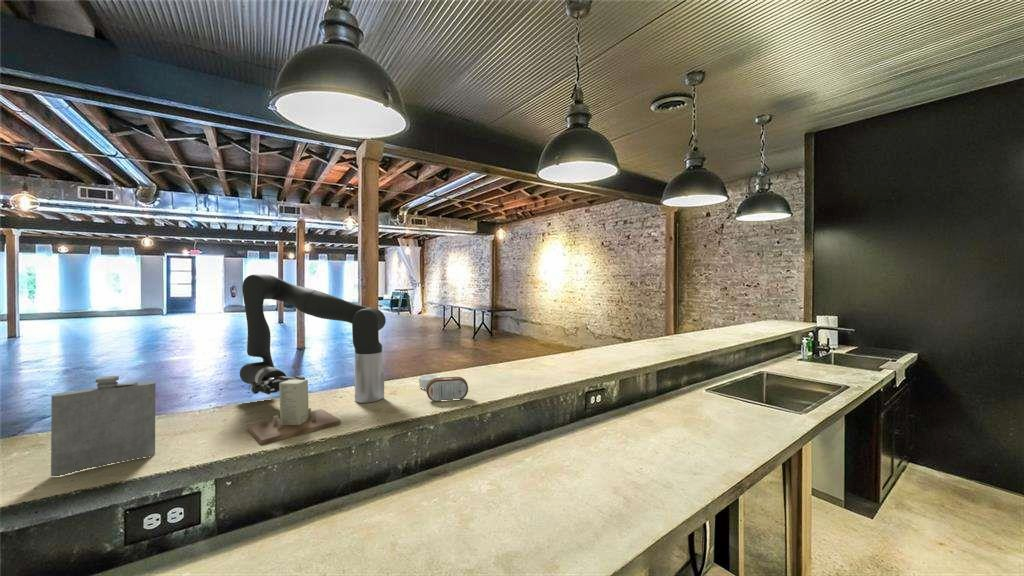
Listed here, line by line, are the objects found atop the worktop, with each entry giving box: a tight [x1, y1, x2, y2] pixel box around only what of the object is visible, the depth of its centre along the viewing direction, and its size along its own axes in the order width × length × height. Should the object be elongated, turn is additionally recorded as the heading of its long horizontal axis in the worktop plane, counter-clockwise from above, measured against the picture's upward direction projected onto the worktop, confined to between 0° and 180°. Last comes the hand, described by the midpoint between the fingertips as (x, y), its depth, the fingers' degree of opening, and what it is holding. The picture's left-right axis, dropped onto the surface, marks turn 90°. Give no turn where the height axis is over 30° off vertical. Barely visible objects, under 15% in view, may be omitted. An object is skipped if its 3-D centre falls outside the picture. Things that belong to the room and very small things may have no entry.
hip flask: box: [50, 375, 156, 477], centre depth 84 cm, size 16×4×20 cm, turn 133°
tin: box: [425, 376, 469, 402], centre depth 132 cm, size 15×3×8 cm, turn 106°
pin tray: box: [247, 407, 342, 446], centre depth 107 cm, size 20×15×4 cm
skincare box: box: [279, 379, 309, 425], centre depth 107 cm, size 6×4×12 cm
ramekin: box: [418, 374, 441, 388], centre depth 150 cm, size 9×9×4 cm
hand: (285, 388), depth 113 cm, fingers open, 8 cm apart
